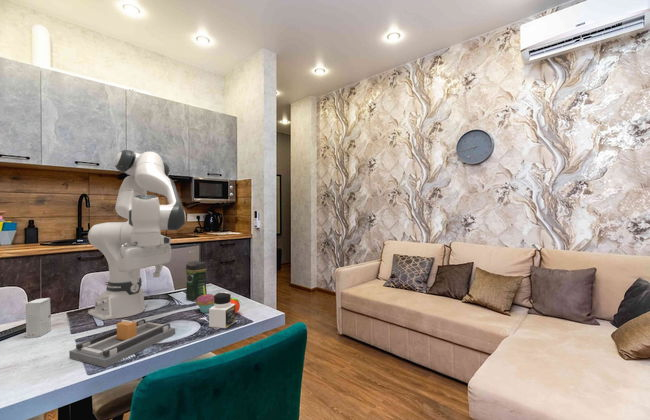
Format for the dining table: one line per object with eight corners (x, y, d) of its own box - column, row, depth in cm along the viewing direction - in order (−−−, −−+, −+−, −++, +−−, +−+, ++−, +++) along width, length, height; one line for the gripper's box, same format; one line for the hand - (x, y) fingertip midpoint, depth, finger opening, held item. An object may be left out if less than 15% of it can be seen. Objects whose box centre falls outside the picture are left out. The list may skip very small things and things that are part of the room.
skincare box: (40, 336, 104) (40, 302, 104) (25, 338, 103) (24, 303, 103) (51, 329, 110) (51, 297, 110) (37, 331, 109) (36, 298, 109)
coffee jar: (209, 298, 148) (209, 261, 148) (195, 302, 142) (195, 263, 142) (197, 295, 154) (197, 259, 153) (183, 299, 147) (183, 261, 147)
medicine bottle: (226, 328, 111) (225, 296, 111) (208, 327, 112) (208, 295, 112) (235, 321, 118) (235, 291, 118) (219, 320, 119) (219, 290, 119)
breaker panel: (69, 357, 90) (69, 345, 90) (143, 327, 112) (142, 318, 112) (105, 367, 84) (105, 354, 84) (175, 333, 106) (175, 323, 106)
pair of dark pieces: (76, 348, 90) (76, 344, 90) (143, 322, 111) (143, 319, 111) (105, 356, 85) (105, 352, 85) (169, 327, 106) (169, 324, 106)
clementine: (244, 312, 129) (244, 295, 129) (238, 318, 122) (238, 300, 122) (227, 311, 129) (227, 295, 129) (219, 317, 122) (219, 300, 122)
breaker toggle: (117, 338, 97) (116, 321, 97) (125, 334, 100) (125, 318, 100) (127, 340, 96) (127, 323, 96) (136, 337, 99) (136, 320, 98)
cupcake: (210, 314, 126) (209, 286, 125) (191, 313, 127) (191, 285, 127) (220, 307, 134) (220, 281, 134) (202, 307, 135) (202, 280, 135)
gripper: (128, 243, 94) (128, 287, 94) (174, 238, 114) (174, 274, 114) (112, 243, 95) (112, 287, 95) (160, 238, 115) (160, 273, 115)
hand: (146, 280), depth 104 cm, fingers open, 8 cm apart
